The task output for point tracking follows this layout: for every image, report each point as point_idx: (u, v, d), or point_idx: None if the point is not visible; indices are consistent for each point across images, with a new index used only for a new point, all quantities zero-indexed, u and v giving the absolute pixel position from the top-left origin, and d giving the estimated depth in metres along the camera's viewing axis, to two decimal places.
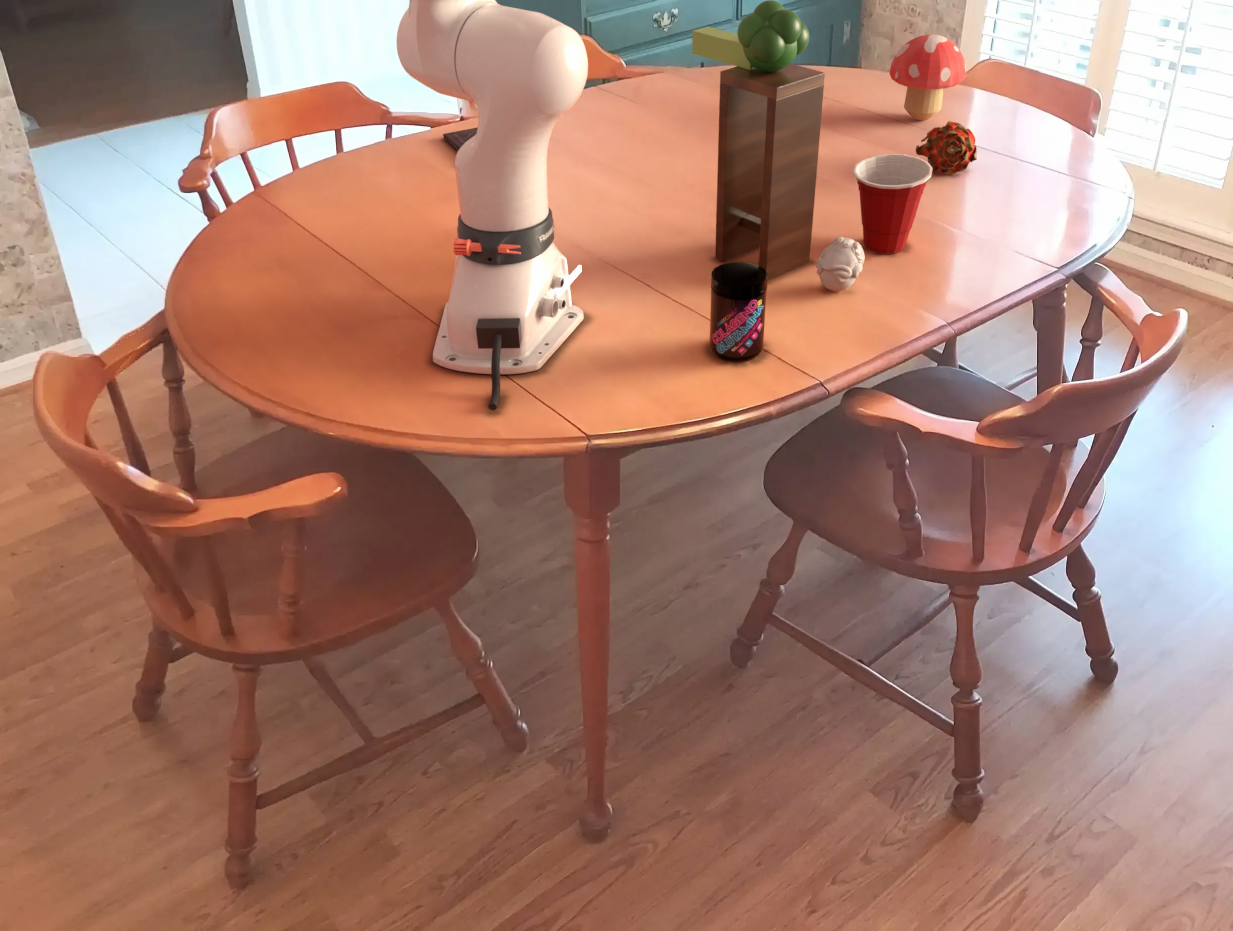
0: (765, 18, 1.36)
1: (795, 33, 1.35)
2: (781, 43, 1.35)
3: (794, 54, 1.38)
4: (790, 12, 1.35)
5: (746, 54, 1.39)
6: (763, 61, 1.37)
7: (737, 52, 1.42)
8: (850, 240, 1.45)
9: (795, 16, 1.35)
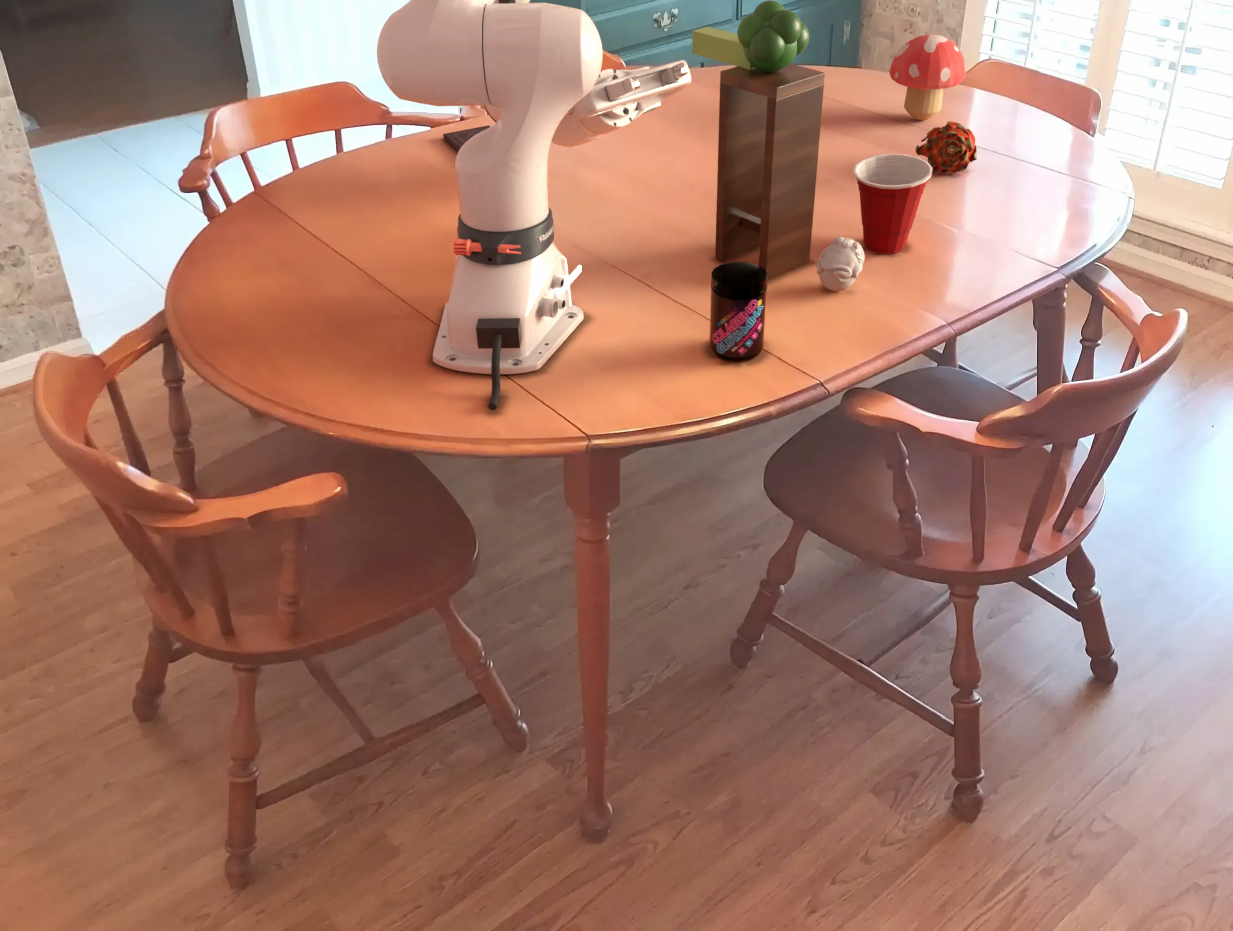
0: (765, 18, 1.36)
1: (795, 33, 1.35)
2: (781, 43, 1.35)
3: (794, 54, 1.38)
4: (790, 12, 1.35)
5: (746, 54, 1.39)
6: (763, 61, 1.37)
7: (737, 52, 1.42)
8: (850, 240, 1.45)
9: (795, 16, 1.35)
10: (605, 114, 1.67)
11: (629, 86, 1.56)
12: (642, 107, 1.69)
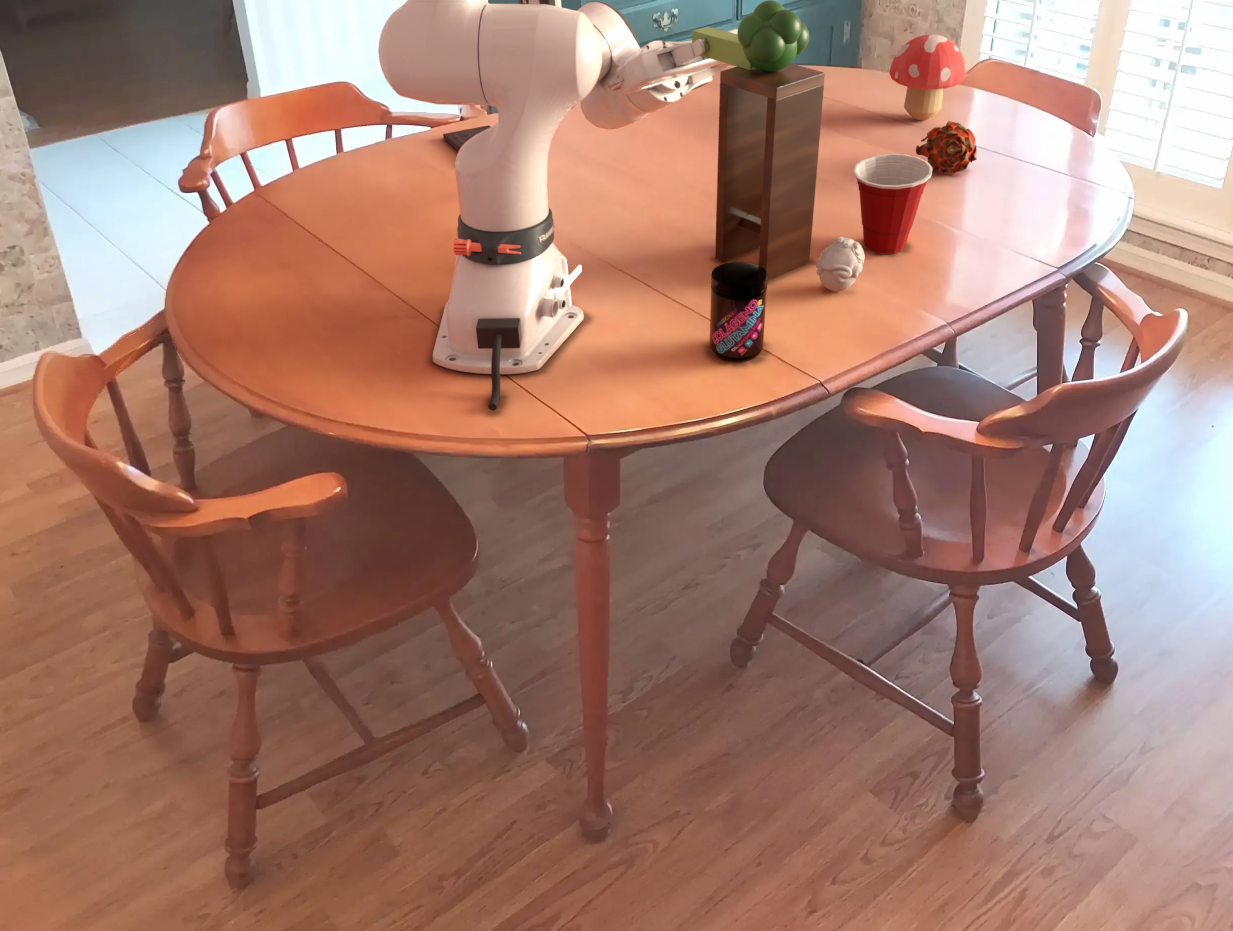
0: (765, 18, 1.36)
1: (795, 33, 1.35)
2: (781, 43, 1.35)
3: (794, 54, 1.38)
4: (790, 12, 1.35)
5: (746, 54, 1.39)
6: (763, 61, 1.37)
7: (737, 52, 1.42)
8: (850, 240, 1.45)
9: (795, 16, 1.35)
10: (655, 88, 1.55)
11: (699, 48, 1.45)
12: (693, 81, 1.58)
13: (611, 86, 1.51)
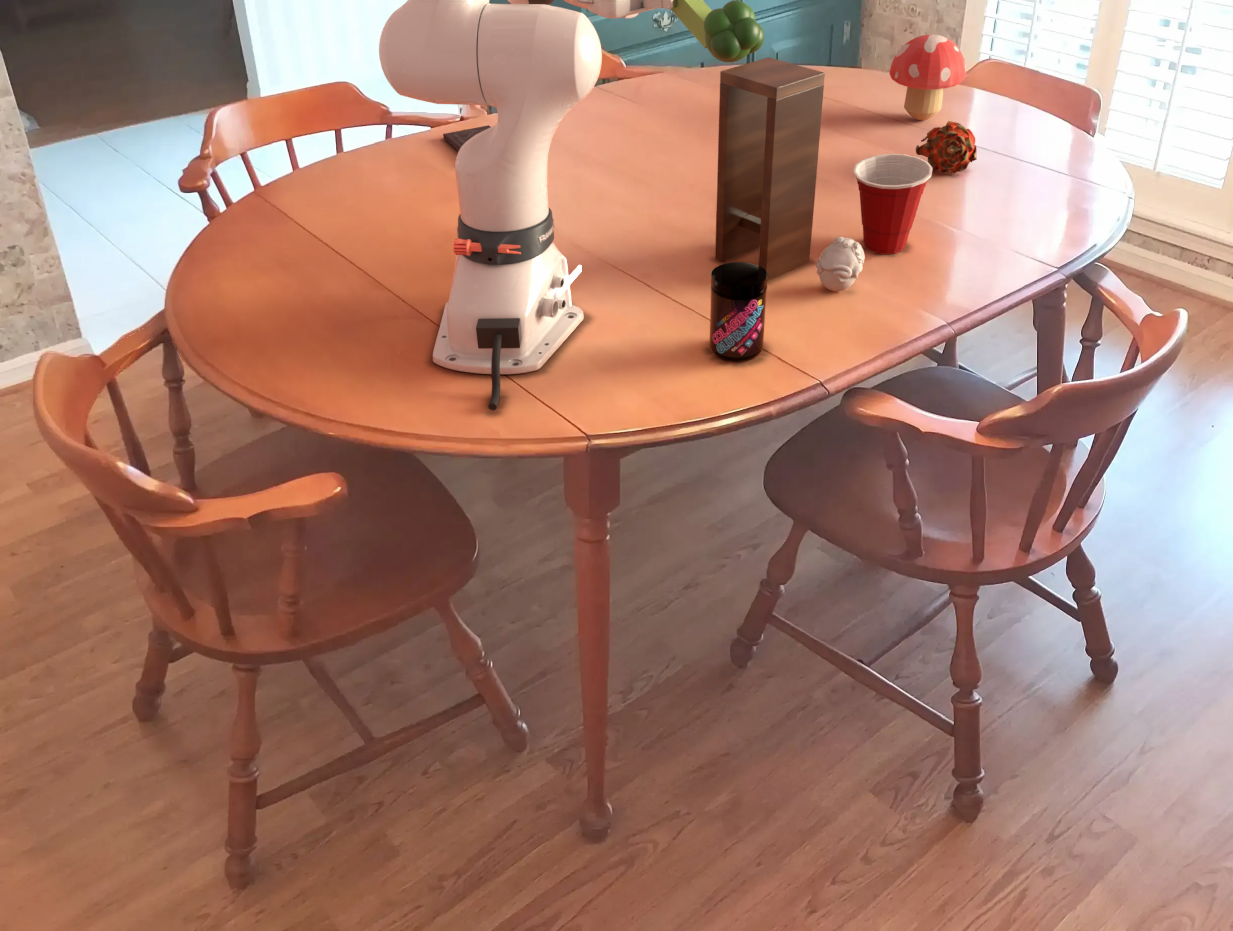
0: (732, 21, 1.51)
1: (752, 44, 1.52)
2: (738, 50, 1.52)
3: (745, 55, 1.55)
4: (754, 25, 1.51)
5: (706, 40, 1.54)
6: (718, 57, 1.54)
7: (699, 27, 1.57)
8: (850, 240, 1.45)
9: (757, 30, 1.51)
10: None
11: (668, 4, 1.58)
12: None
13: (580, 1, 1.61)
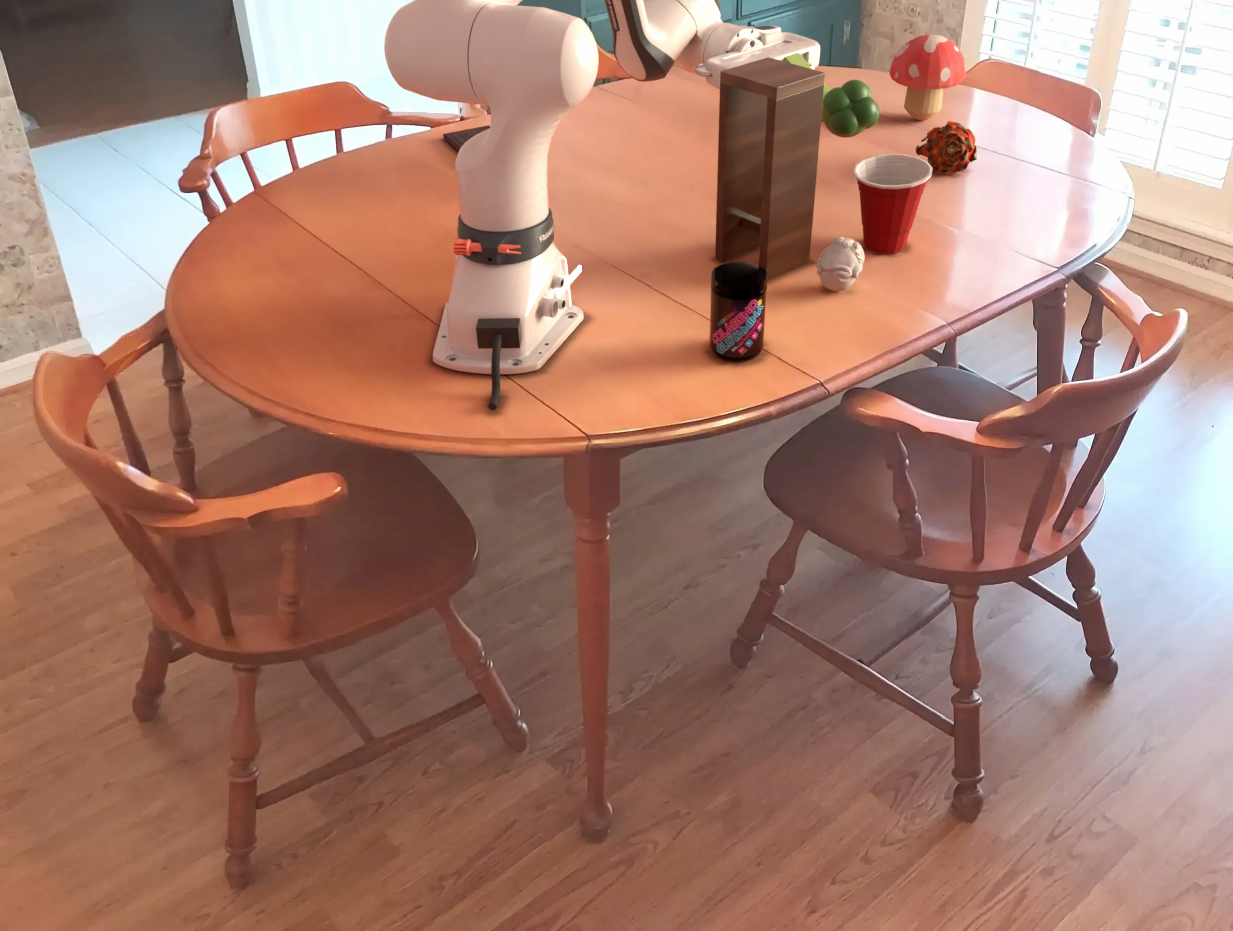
0: (851, 100, 1.57)
1: (870, 122, 1.58)
2: (856, 128, 1.58)
3: (861, 131, 1.61)
4: (873, 104, 1.57)
5: (824, 117, 1.60)
6: (836, 134, 1.60)
7: None
8: (850, 240, 1.45)
9: (875, 109, 1.57)
10: None
11: None
12: None
13: (698, 73, 1.67)
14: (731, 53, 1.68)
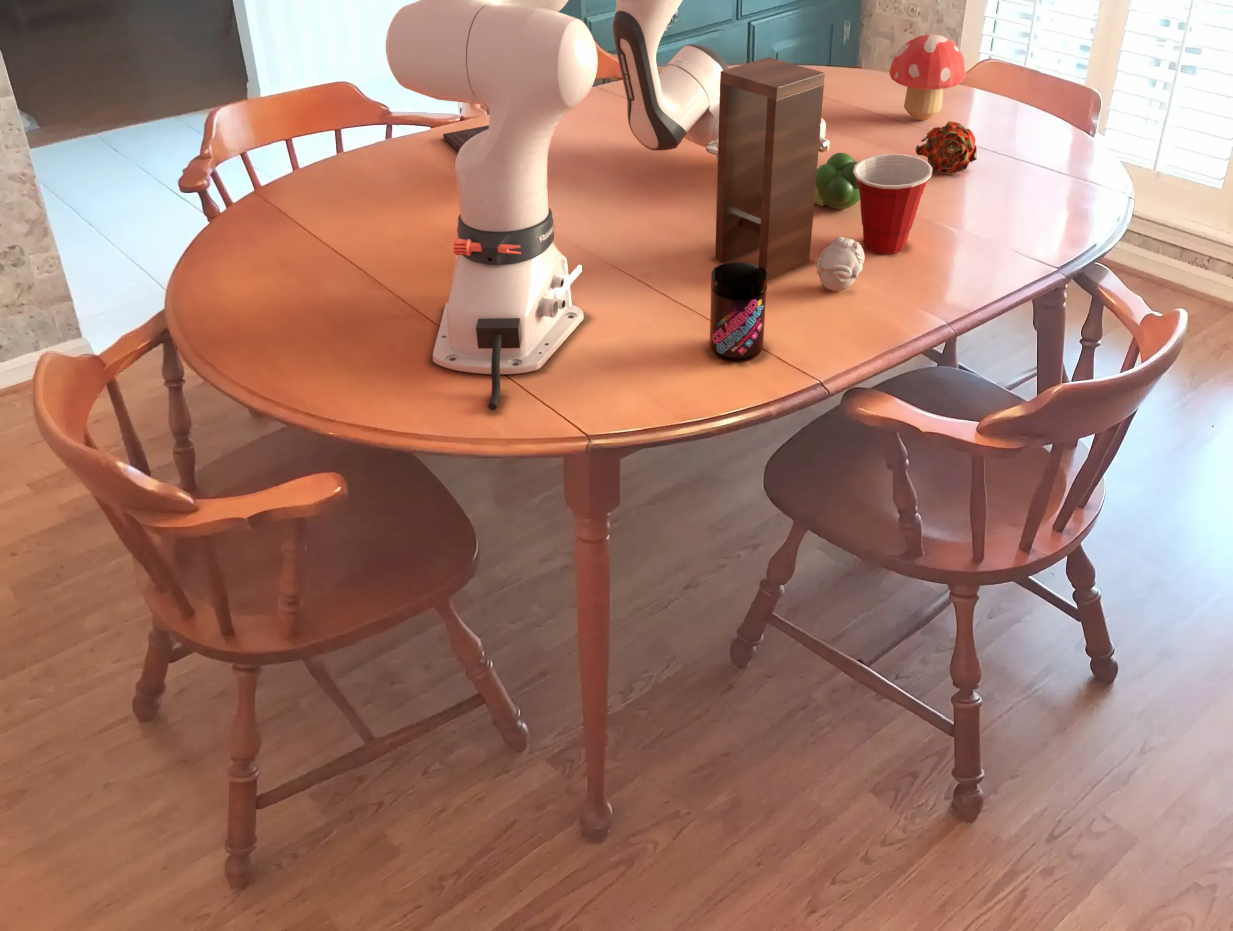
0: (837, 168, 1.66)
1: None
2: (851, 189, 1.65)
3: None
4: None
5: (821, 195, 1.69)
6: (835, 203, 1.67)
7: None
8: (850, 240, 1.45)
9: None
10: None
11: None
12: None
13: (709, 151, 1.74)
14: None
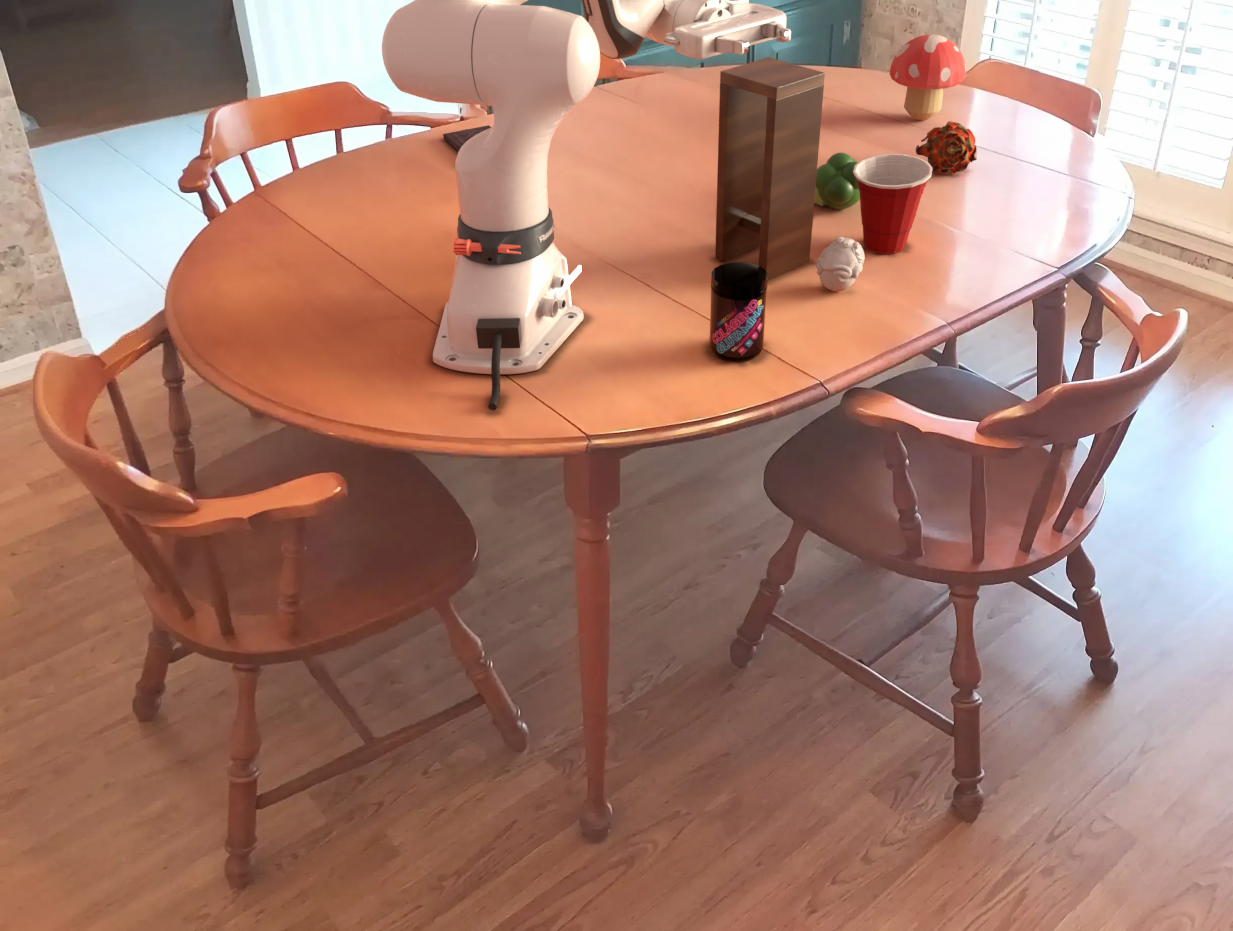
0: (837, 168, 1.66)
1: None
2: (851, 189, 1.65)
3: None
4: None
5: (821, 195, 1.69)
6: (835, 203, 1.67)
7: None
8: (850, 240, 1.45)
9: None
10: None
11: (739, 50, 1.67)
12: None
13: (667, 41, 1.71)
14: (699, 22, 1.73)
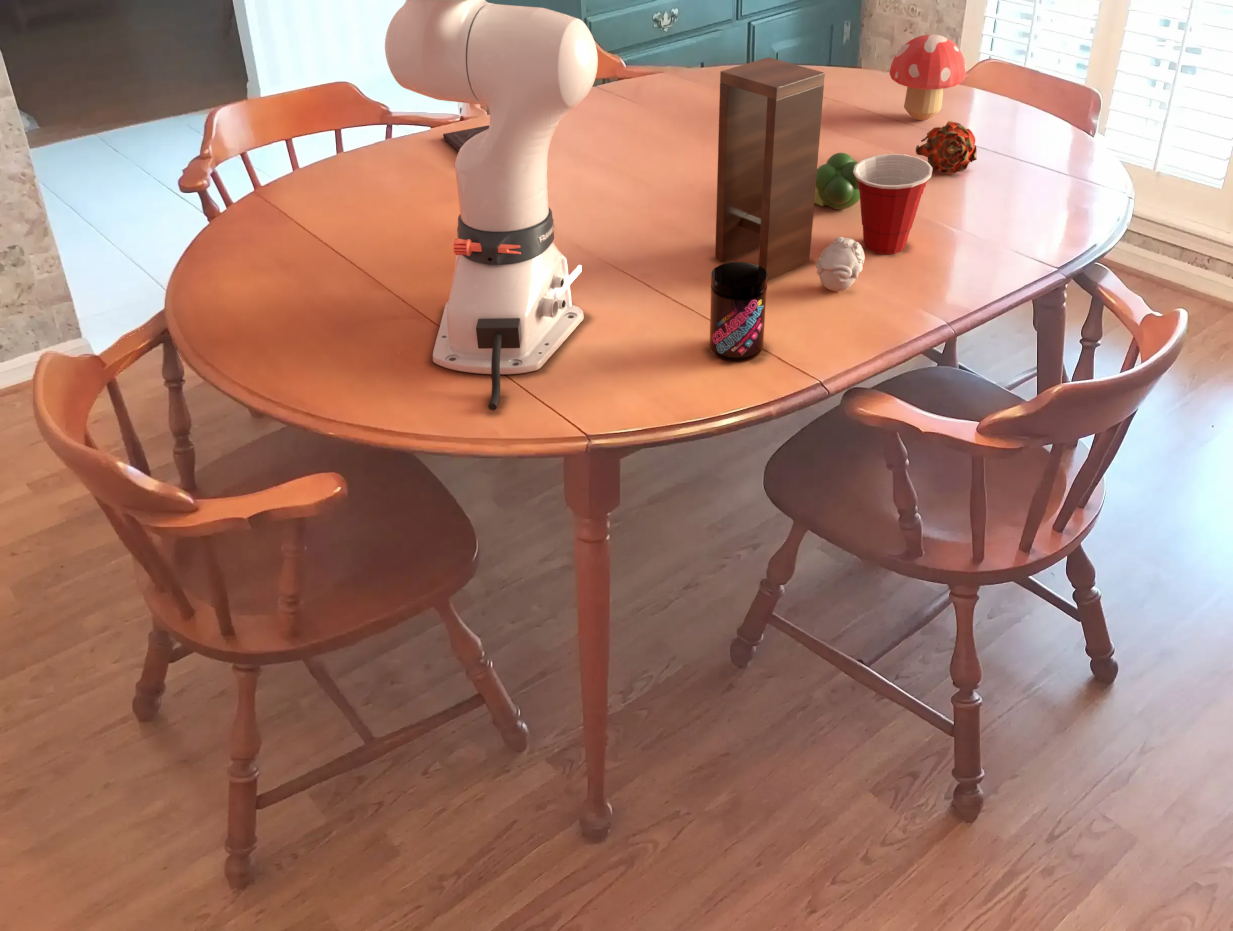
0: (837, 168, 1.66)
1: None
2: (851, 189, 1.65)
3: None
4: None
5: (821, 195, 1.69)
6: (835, 203, 1.67)
7: None
8: (850, 240, 1.45)
9: None
10: None
11: None
12: None
13: None
14: None
